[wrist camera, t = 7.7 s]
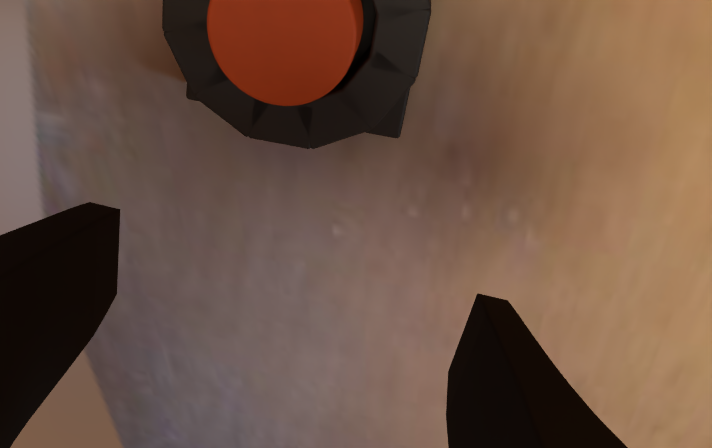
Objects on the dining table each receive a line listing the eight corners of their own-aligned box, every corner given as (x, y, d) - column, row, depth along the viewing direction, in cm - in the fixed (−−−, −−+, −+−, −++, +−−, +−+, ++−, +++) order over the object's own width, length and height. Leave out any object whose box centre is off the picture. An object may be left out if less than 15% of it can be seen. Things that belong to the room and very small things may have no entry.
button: (351, 96, 16) (344, 119, 14) (224, 72, 16) (202, 92, 14) (374, -43, 14) (368, -34, 13) (232, -69, 14) (209, -64, 13)
